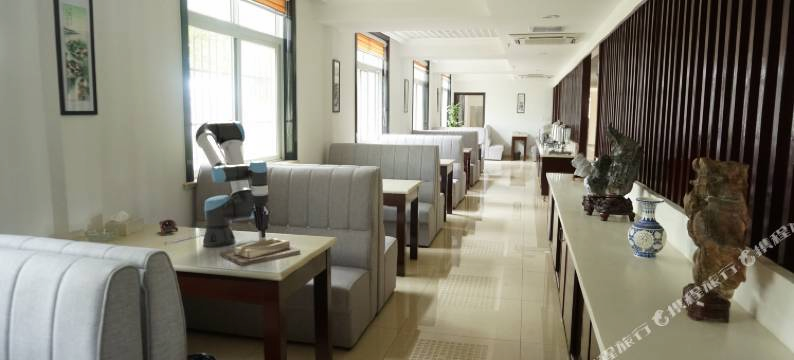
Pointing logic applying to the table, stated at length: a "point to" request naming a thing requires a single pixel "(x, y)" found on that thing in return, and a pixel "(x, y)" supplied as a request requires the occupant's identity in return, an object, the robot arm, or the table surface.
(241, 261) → the display board
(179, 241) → the plaque
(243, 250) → the wooden tray
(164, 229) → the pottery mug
